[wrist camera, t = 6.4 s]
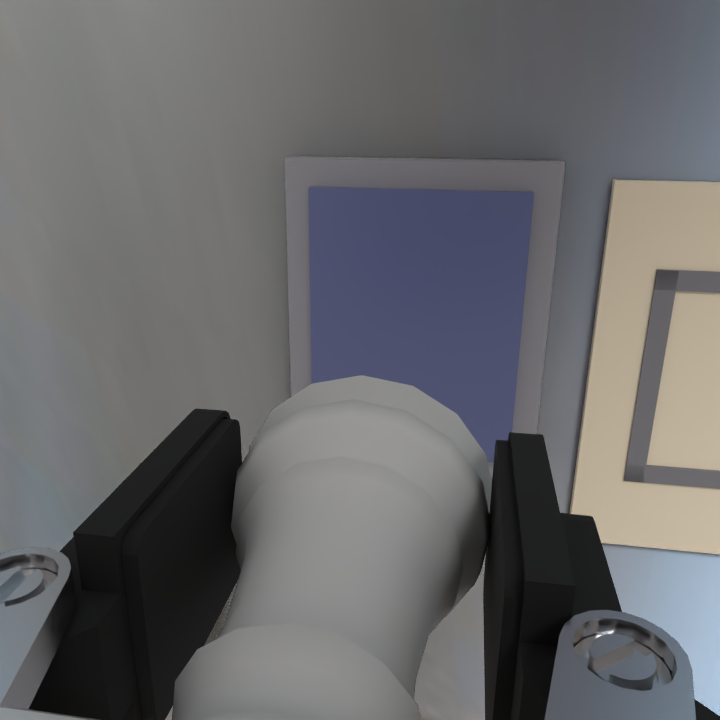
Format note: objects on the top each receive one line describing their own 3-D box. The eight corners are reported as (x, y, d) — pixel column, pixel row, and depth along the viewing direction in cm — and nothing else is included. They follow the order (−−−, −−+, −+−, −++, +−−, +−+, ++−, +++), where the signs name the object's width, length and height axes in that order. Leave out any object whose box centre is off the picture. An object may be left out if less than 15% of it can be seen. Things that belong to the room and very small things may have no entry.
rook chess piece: (375, 622, 13) (251, 1242, 6) (206, 473, 13) (-159, 947, 5) (548, 488, 12) (671, 1097, 4) (364, 313, 11) (155, 671, 4)
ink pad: (292, 155, 21) (280, 158, 20) (561, 160, 20) (567, 163, 18) (300, 447, 24) (289, 466, 23) (529, 467, 23) (532, 488, 22)
